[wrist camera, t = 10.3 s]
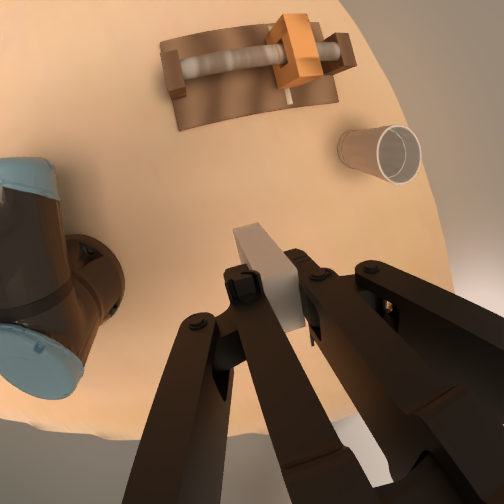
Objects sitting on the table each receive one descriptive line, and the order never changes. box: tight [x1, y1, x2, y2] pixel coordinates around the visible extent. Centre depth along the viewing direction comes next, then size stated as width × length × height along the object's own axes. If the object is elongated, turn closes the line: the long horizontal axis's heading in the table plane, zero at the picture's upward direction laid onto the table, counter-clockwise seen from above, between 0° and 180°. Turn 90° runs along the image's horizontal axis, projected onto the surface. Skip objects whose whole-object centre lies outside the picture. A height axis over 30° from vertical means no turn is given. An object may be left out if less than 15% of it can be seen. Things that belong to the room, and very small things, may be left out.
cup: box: [338, 125, 421, 185], centre depth 38 cm, size 8×8×12 cm
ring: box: [265, 14, 323, 89], centre depth 30 cm, size 3×8×8 cm, turn 12°
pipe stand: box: [160, 22, 357, 131], centre depth 32 cm, size 24×14×8 cm, turn 102°
